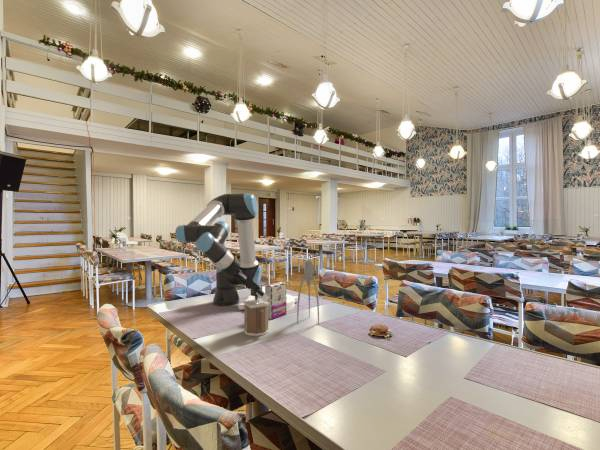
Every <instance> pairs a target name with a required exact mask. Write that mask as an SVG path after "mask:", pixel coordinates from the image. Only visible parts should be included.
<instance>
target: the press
mask: <svg viewBox="0 0 600 450" xmlns="http://www.w3.org/2000/svg"><path fill="white" fill-rule="evenodd" d="M242 303H244V304H245V305H244V309H243V310H244V311H243V312H244V315H243V316H244V317H243V318H244V322H243V323H244V325H243V327H244V329H243V331H244V332H243V333H244V335H246V336H249V337H261V336H264V335H267V334H268V333H269V319H268V306H269V305H270V303H269V302H267V301H266V302H264V301H263V300H262V299H258V303H255V300H248V301H245V300H243V302H242Z"/></svg>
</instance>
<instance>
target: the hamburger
mask: <svg viewBox="0 0 600 450" xmlns="http://www.w3.org/2000/svg"><path fill="white" fill-rule="evenodd" d="M369 331H370V332H369V333H370V336H374V335H375V337H378V336H380V338H381V336H384V337H383V338H387V337H388V338H390V336H391V335H393V332H392V331H391V329H390V327H388V326H387V325H385V324H383V323H382V324H375V325H372V326H370V327H369ZM387 341H390V340H389V339H387Z"/></svg>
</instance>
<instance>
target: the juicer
mask: <svg viewBox="0 0 600 450" xmlns="http://www.w3.org/2000/svg"><path fill="white" fill-rule="evenodd" d="M303 268H304V269H303V271H304V276H301V280H300V285H299V290H298V295H297V297H298V302H297V308H296V315H297V316H296V323H297V324H299V311H300V299H301V291H302V288H303V285H304V281H305V282H306V286H307V288H308V289H307V290H308V294H307V295H308V318H309V319H310V316H311V315H310V314H311V285H312V284H311V283H312V281H313V286H314V289H315V297H316V306H317V324H320V305H319V304H320V302H319V293H318V286H317V282H316V277H315V276H313V274H314V273H313V272H314V262H313V261H312V260H311V259H309V258H308V259H306V260H305V262H304V267H303Z"/></svg>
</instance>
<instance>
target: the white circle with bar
mask: <svg viewBox="0 0 600 450" xmlns="http://www.w3.org/2000/svg"><path fill="white" fill-rule="evenodd" d="M258 299H259V298H258ZM248 300H255V296H251V294H250V295H248V296H246V297H245V298H244V301H248ZM295 303H298V295H297V296H293V295H292V294H288V293H286V312H289V311H291V309H292V308H293V309H295V307H296V306H295ZM244 305H245V304H244V303H243V302H239V303H237V308H238V310H240V311H241V310H244ZM294 306H295V307H294ZM293 309H292V310H293ZM288 310H289V311H288Z"/></svg>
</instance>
